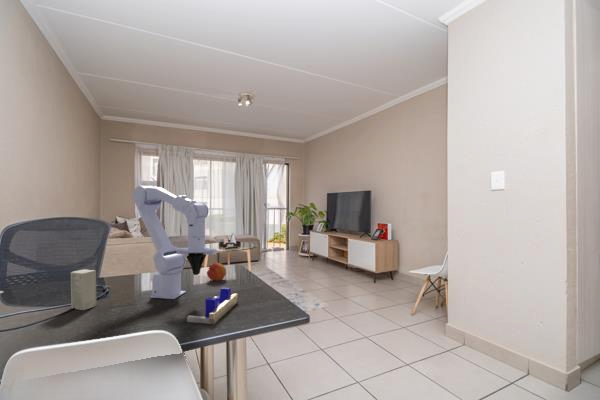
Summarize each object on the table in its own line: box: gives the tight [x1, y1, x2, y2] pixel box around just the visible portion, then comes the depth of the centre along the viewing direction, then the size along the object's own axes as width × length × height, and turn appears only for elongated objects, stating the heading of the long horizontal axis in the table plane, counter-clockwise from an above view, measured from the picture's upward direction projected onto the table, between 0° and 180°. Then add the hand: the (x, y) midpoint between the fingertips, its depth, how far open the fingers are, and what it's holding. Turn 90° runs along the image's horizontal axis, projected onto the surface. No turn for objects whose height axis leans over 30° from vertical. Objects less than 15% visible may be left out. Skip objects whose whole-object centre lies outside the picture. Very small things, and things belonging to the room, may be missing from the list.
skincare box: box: [70, 268, 97, 311], centre depth 93 cm, size 6×4×12 cm
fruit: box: [206, 262, 227, 282], centre depth 126 cm, size 8×8×8 cm
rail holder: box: [186, 293, 239, 325], centre depth 91 cm, size 8×18×3 cm, turn 171°
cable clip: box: [204, 287, 232, 317], centre depth 91 cm, size 12×4×6 cm, turn 171°
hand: (196, 274), depth 100 cm, fingers closed
